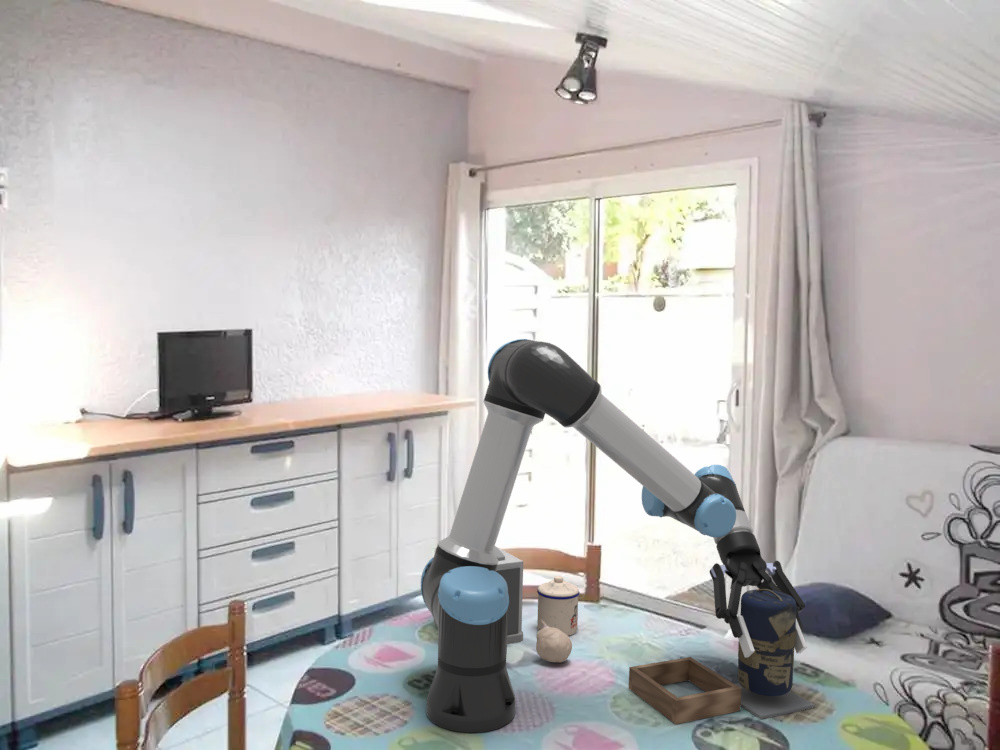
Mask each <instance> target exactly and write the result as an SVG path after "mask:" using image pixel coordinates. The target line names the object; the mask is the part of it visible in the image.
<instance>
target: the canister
mask: <svg viewBox="0 0 1000 750" xmlns="http://www.w3.org/2000/svg"><path fill="white" fill-rule="evenodd" d="M739 614H740V615H739V616H743V619H744V621H745V624H746V627H747V630H748V633H749V636H750V638H751V641H752V644H753V647H754V650H755V651H754V652H753V653H752V654H751V655H750V656H749V657H746V658H745V657H744V654H743V651H742V648H741V645H740V642H739V641H738V644H737V651H738V652H737V657H738V658H737V668H738V669H737V681H738V683H740V685H741V686H742V687H743V688H745V689H747V690H748V691H750V692H753V693H756V694H760V695H766V696H779V695H784V694H786V693H788V692H789V691H792V688H793V682H794V666H795V663H794V661H795V631H796V601H795V600H794V598H792V597H791V596H790V595H788V594H785V593H782V592H778V591H773V590H769V589H759V588H758V589H750V590H747V591H744V592H743V594H741V596H740V613H739Z"/></svg>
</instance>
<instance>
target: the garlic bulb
mask: <svg viewBox="0 0 1000 750" xmlns="http://www.w3.org/2000/svg"><path fill="white" fill-rule="evenodd" d="M540 622H541V623H542V624H543V629H541V630H538V632H537V634H536V636H535V637H536V646H535V650H536V651H535V652H536V653H537V655H538V656H539V657H540V658H541V660H544V661H546V662H551V663H559V664H560V663H564V662H565V661H567V660H568V659H569V657H570V655H571V653H572V651H573V650H572V649H573V644H572V640H571V638H570V637H569V636H567V635H566V634H565V633H563V632H562V631H561V630H559V629H557V628H552V627H548V626H547V625H546V623H545V622H544V621H543V620H541V621H540Z"/></svg>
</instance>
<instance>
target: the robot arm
mask: <svg viewBox="0 0 1000 750" xmlns="http://www.w3.org/2000/svg"><path fill="white" fill-rule="evenodd" d="M487 380H488V385H487V389H486V391H485V395H484V399H483V405H484V406H485V408H486V410H487V416H486V419H485V422H484V425H483V428H482V432H481V435H480V437H479V441H478V444H477V447H476V450H475V454H474V456H473V458H472V459H473V461H472V462H471V467H470V468H469V472H468V476H467V479H466V482H465V485H464V487H463V490H462V491H463V492H462V495H461V497H460V501H459V504H458V507H457V509H456V513H455V516H454V520H453V522H452V526H451V529H450V533H449V535H448V536H447V537H445V538H443V539H441V540H440V541H438V543H437V547H436V548H435V552H434V555H433V557H431V558H430V560H428V562H427V563H426V564H425V566H424V568H423V569H422V573H421V576H420V577H421V578H420V591H421V596H422V600H423V602H424V604H425V606H426V608H427V609H428V611H429V612H430V614H431V616H432V617H433V620H434V619H435V621H436V623H437V625H438V626H437V625H436V626H437V632H438V633H437V635H438V637H437V640H438V642H437V667H436V671H435V674H434V676H433V679H432V682H431V685H430V687H429V691H428V694H427V696H426V711H425V712H426V716H427V718H428V719H429V720H430V721H431V723H433V724H435V725H436V726H438V727H441V728H443V729H447V730H449V731H450V730H451V731H453V732H454V731H455V732H461V733H482V732H483V733H484V732H488V731H493V730H497V729H500V728H502V727H504V726H506V725H508V724H509V723H510V722H511V721H513V719H514V718H515V715H516V705H517V704H516V703H517V702H516V696H515V692H514V689H513V686H512V683H511V679H510V676H509V672H508V670H507V654H508V653H507V652H508V651H507V648H508V647H507V645H508V644H507V621H508V605H509V595H508V587H507V583H506V581H505V579H504V578H503V577H502V576H501V575H500V574H498V573H497V572H495V571H496V567H497V564H498V559H497V557H496V555H495V553H494V546H496V542H497V540H498V537H499V534H500V531H501V528H502V523H503V520H504V518H505V515H506V511H507V509H508V506H509V501H510V499H511V496H512V492H513V490H514V486H515V483H516V480H517V476H518V473H519V471H520V470H519V469H520V467H521V464H522V461H523V457H524V455H525V452H526V448H527V445H528V442H529V439H530V436H531V434H532V433H531V432H532V429H533V427H534V426H536V425H537V424H540V423H541V422H543V421H544V418H545V416H546V415H547V416H549V417H550V418H553V419H554V420H555V421H556V422H558V423H559V424H560V425H561V426H562V427H563V428H574V429H575V430H576V431H577V432H578V433H579V434H581V436H583V437H584V438H585V439H586V440H588V441H589V442H591V443H592V445H593V446H595V447H596V448H597V449H598V450H599V451H601V452H602V453H603V454H605V455H606V456H607V457H608V458H609V459H611V461H613V462H614V463H615V464H617V465H618V466H619V467H620V468H621V469H623V470H624V471H625V473H627V474H628V475H630V477H632V478H633V479H635V481H637V482H638V483H639V484H640V485H641V486H642V489H641V504H642V508H643V510H644V512H645V513H646V514H647V515H648V516H650V517H659V518H663V517H664V518H665V517H669V518H672V519H673V520H676V521H677V522H680V523H681V524H683V525H686V526H687V527H689V528H692V529H694V530H695V531H697V532H698V533H700V534H701V535H703V536H707V537H710V538H713V541H714V543H715V544H716V550H717V553H718V555H719V558H720V562H721V563H722V564H719V563H714V564H713V566H712V567H711V568H710V570H709V575H710V577H711V580H712V583H713V584H712V585H713V594H714V595H713V598H714V610H715V617H716V619H720V620H721V619H723V620H724V623H726V624H728V625H729V628H730V630H731V633H732V636H733V637H734V638H736V639H737V640H738V643H739V642H740V645H741V648H742V651H743V654H744V657H745V658H746V657H749V656H750V655H751V654H752V653H753V652H754V651H755V650H754V647H753V644H752V641H751V638H750V636H749V633H748V630H747V627H746V624H745V621H744V619H743V616H740V615H738V612H739V607H740V603H741V597H742V590H743V588H744V587H747V586H751V587H756V588H758V589H769V590H773V591H778V592H782V593H785V594H788V595H790V596H791V597H792V598H794V600H795V601H796V631H795V647H794V651H795V653H796V654H801V653H803V652H804V651H805V650H806V649H807V648H808V644H807V642H806V640H805V638H804V635H803V631H804V626H803V622H802V620H801V618H800V615H799V614H800V613H801V612H802V611H803V610H804V609H805V608H806V604H805V602H804V601H803V599H802V597H800V595H799V594H798V592H797V590H796V589H795V587H794V586H793V585H792V583H791V581H790V580H789V578H788V577H787V576H786V574H785V572H784V570H783V567H782V563H781V562H780V561H779V560H775V561H774V562H766V561H765V560H764V558H763V557H762V553H761V549H760V546H759V544H758V543H759V542H758V541H757V537H756V535H755V534H753V533H754V530H753V528H752V524H751V523H750V522H751V521H750V519H749V517H748V515H747V513H746V511H745V508H744V505H743V503H742V499H741V497H740V493H739V492H738V488H737V484H736V483H735V481H734V479H733V476H732V475H731V473H730V471H729V469H728V468H727V467H725V466H724V465H721V464H711V465H710V466H703V467H701V468H700V469H698V470H696V472H695V473H693V472H692V471H691V470H689V468H687V466H685V465H684V464H683V463H682V462H680V461H679V460H678V459H677V458H676V457H675V456H673V455H672V454H671V452H669V451H668V450H667V449H666V448H665V447H663V446H662V445H661V444H660V443H659V442H657V440H655V439H654V438H653V437H652V436H651V435H650V434H648V433H647V432H646V431H645V430H644V429H642V427H640V426H639V425H638V424H637V423H635V421H633V420H632V419H631V418H630V417H629V416H628V415H626V414H625V413H624V412H623V411H622V410H621V409H620V408H618V407H617V406H616V405H615V404H614V403H613V402H612V401H610V400H609V399H608V398H607V397H606V396H604V395H603V394H602V385H601V384H600V383H599V382H598V381H596V379H594V378H593V377H592V376H591V375H590V374H589V373H588V372H587V371H586V370H584V369H583V368H582V367H581V366H580V364H579V363H577V361H575V359H573V358H572V357H571V356H570V355H569V354H568V353H567V352H565V351H564V350H563V349H561V348H560V347H559V346H557V345H555V344H553V343H550V342H546V341H539V340H532V339H527V338H523V339H522V338H521V339H520V338H519V339H514V340H511V341H508V342H506V343H504V344H502V345H501V346H499V347H498V348H497V349H496V350H495V352H494V353H492V356H491V358H490V360H489V362H488V366H487ZM766 571H767V572H768V573H767V572H766ZM725 574H726V575H727V576H728V577H729V578H730V579H731V582H730V586H729V587H730V593H729V596H728V597H729V599H728V603H727V593H726V579H725Z"/></svg>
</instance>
